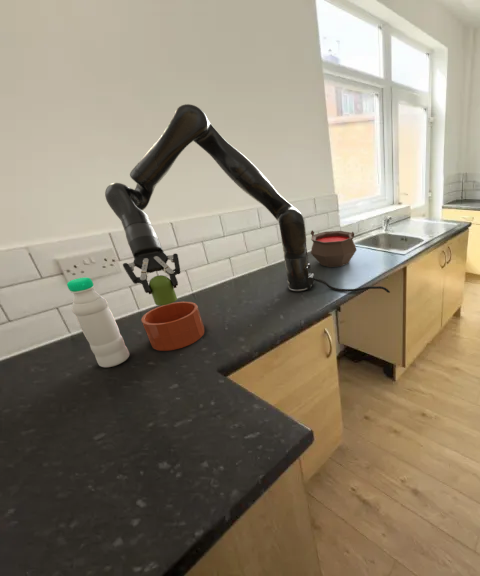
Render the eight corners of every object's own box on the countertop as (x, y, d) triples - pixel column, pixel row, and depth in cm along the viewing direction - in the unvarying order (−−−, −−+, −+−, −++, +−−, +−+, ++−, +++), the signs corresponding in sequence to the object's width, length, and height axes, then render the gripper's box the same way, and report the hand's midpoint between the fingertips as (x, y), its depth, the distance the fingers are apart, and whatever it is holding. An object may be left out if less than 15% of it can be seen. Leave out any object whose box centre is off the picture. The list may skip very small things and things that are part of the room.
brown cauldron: (364, 256, 170) (362, 225, 163) (349, 272, 149) (347, 238, 142) (322, 253, 175) (319, 224, 168) (302, 269, 154) (298, 236, 147)
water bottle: (136, 355, 92) (102, 276, 82) (110, 370, 86) (70, 287, 76) (119, 351, 94) (85, 273, 84) (93, 365, 88) (52, 283, 78)
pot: (212, 324, 108) (205, 300, 104) (190, 349, 94) (182, 323, 91) (168, 326, 107) (160, 302, 104) (140, 352, 94) (129, 326, 90)
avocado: (180, 296, 98) (172, 272, 95) (170, 305, 93) (162, 279, 90) (162, 297, 98) (153, 272, 95) (151, 305, 93) (141, 280, 90)
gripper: (111, 239, 89) (130, 291, 85) (170, 230, 97) (190, 277, 94) (116, 253, 95) (135, 302, 91) (172, 243, 103) (190, 288, 100)
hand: (162, 289), depth 93 cm, fingers closed on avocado, 5 cm apart
